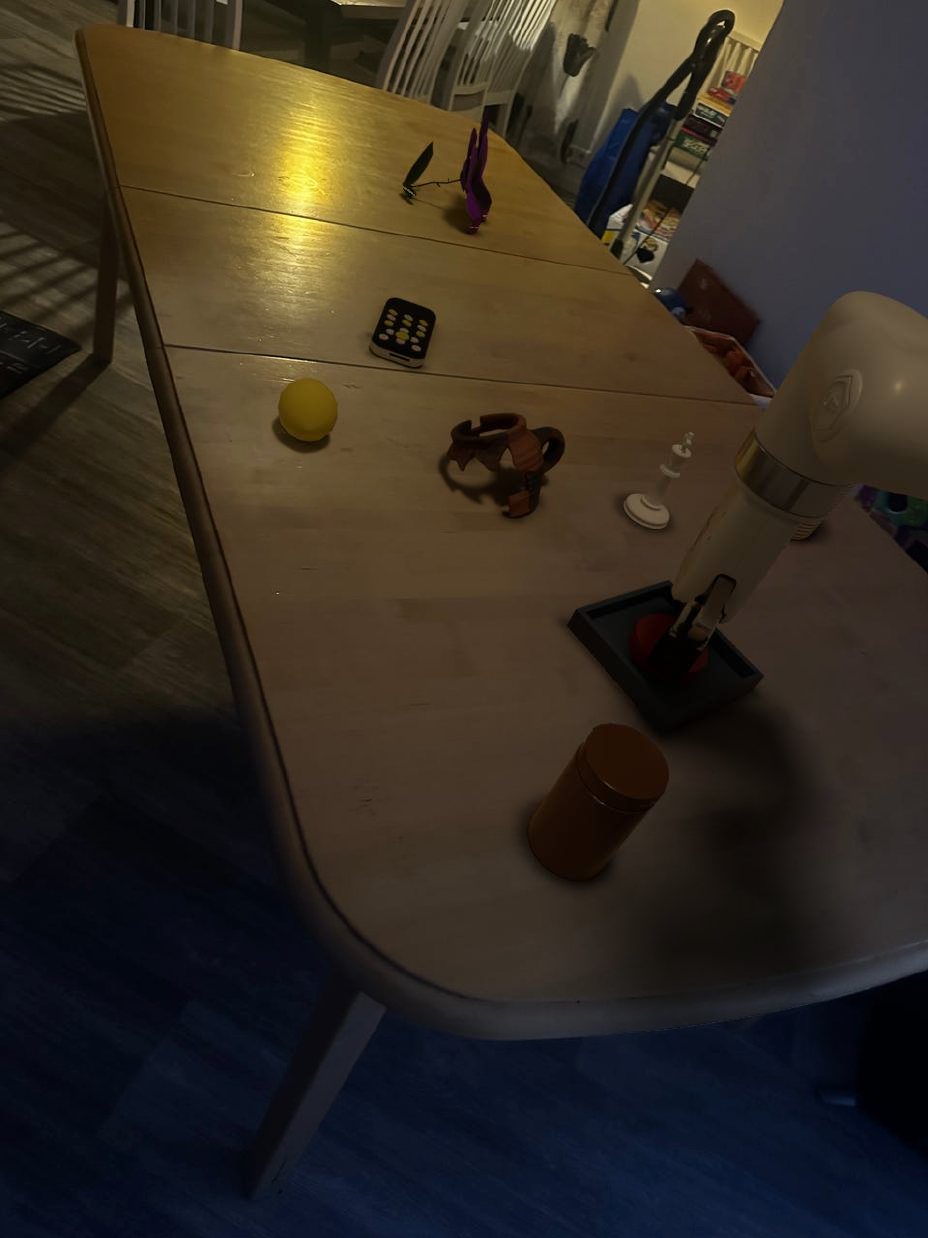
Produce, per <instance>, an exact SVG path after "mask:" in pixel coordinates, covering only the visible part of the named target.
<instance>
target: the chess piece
mask: <svg viewBox="0 0 928 1238" xmlns="http://www.w3.org/2000/svg"><path fill="white" fill-rule="evenodd" d="M694 436H695V434H694V432H691V431H689V432H688V433H685V434H684V436H683V442H682V444H673V445H672V446H671V449H670V455H669V459H668V462H662V463H661V465H660V466H659V468H660V471H661V472H662V474H661V475H660V477H659V478H658V480H657V481H656V482H655V483H654V485H653V486H652V488H650V490H649V491H648V492H647V493H644V494H643V493H632V494H629V496H627V498H626V499H625V500H624V502H623V510H624V512H625V513H626V515H627V516H628V517H629V518H630V519H631V520H632V521H634V522H635V523H637V524H638V525H640V526H641V527H644V528H647V529H652V530H661V529H664V528H665V527H667V525H668V522H669V520H670V513H669V511H668V509H667V507H666V505H664V504H663V499H664V497H665V494H666V491H667V489H668V487H669V484H670V482H671V481H672V479H678V478H680V476H681V470H680V469H679V467H681V466H682V465H683V464H684V463H685V462H686V461H688V460H689V459H690V458H691V456H692V452H691V451H690V447H691V446H692V440H693V438H694Z"/></svg>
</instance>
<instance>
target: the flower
mask: <svg viewBox="0 0 928 1238" xmlns="http://www.w3.org/2000/svg"><path fill="white" fill-rule="evenodd" d="M489 124H490V110H489V108H485V111H484V114H483V117H482V121H481V124H480V127H479V132H477V128H476V127H473V128H472V129H471V133H470V137H469V141H468V147H467V151H466V159H465V160H464V161H463V164H462V170H461V171H460V174H459V178H458V179H455V180H450V178H449V177H448V178H447V181H429V182H426V183H422V184H415V183H416V182H418V180H420V178H421V177H422V175H423V173H425V171H426V170H427V169H428V167H429V165H430V162H431V161H432V159H433V156H434V140H432V141H431V142H430V143H429V144H428V145H427V147H426V148H424V149H423V151H422V152H421V154H420V155H419V156H418V158H417V159H416V160H415V162H414V163H413V164H412V165H411V167H410V169H409V171H408V173H407V174H406V176H405V179H404V181H403V182H402V190H403V191H404V193H405V194H406V195H407V196H408V197H409V198H411V199H412V198H413V197H416V196H417V192H416V191H415V190H414V188H420V187H424V186H427V185H431V184H432V185H433V184H434V185H435V184H436V185H437V187H438V188H441V185H448V184H453V183H457V182H459V183H460V186H461V187H460V188H461V190H462V193H465V195H466V198H465V201H466V209H467V213H468V215H469V216H470V217H471V219H472V222H471V223H470V225H469V230H468V231H469V232H468V233H469V234H477V233H478V230H479V228H480V227H481V224H482V222H485V221H486V219H487V217H488V215H489V213H490V210H491V207H492V204H493V200H492V196H491V193H490V191H489V190H488V188H487V186H486V185H485V181H484V179H483V176H484V172H485V168H486V165H487V161H488V153H489V137H488V131H489ZM477 142H478V143H477ZM411 184H412V185H411ZM414 184H415V185H414ZM440 184H441V185H440ZM403 186H404V187H406V188H407V189H409V190H410V191H411V192H413V194H415V196H413V195H412V194H411V193H409V192H408V191H407V190H405V189H404V188H403ZM483 215H487V216H486V217H483ZM470 227H474V228H470ZM475 227H478V228H475Z"/></svg>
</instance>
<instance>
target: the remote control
mask: <svg viewBox="0 0 928 1238" xmlns="http://www.w3.org/2000/svg"><path fill="white" fill-rule="evenodd" d="M436 321H437V316H436V312H434V311H433V310H432V309H430V308H428V307H426V306H423V305H420V304H418V303H416V302H412V301H409V300H406V299H403V298H401V297H390V298H388V299H387V300H386V301H385V304H384V306H383V308H382V311H381V314H380V316H379V319H378V321H377V323H376V326H375V329H374V331H373V334H372V336H371V339H370V342H369V343H370V344H369V345H370V350H371V351H372V353H374V355H376V356H379V357H381V358H384V359H387V360H390V361H393V362H395V363H398V364H402V365H405V366H408V367H412V368H417V367H421V366H422V365H423V364H424V363H425V359H426V356H427V353H428V350H429V346H430V342H431V339H432V336H433V333H434V328H435V325H436Z"/></svg>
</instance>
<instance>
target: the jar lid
mask: <svg viewBox="0 0 928 1238" xmlns="http://www.w3.org/2000/svg"><path fill="white" fill-rule="evenodd" d="M675 621H676V619H675V618H673V617H670V616H667V615H662V614H650V615H647V616H644V617H643V618H641V619H640V620H639V622H638V623H637V625H636V626H635V628H634V630H633V631H632V633H631V634H630V637H629V648H630V651H631V654H632V655H633V657H634V659H635V660H636V661H637V663H638V664H639V665H640V666H641V667H642V668H643V669H644V670H645V671H647V672H648V673H649V674H651V675H653V676H654V677H656V678H658V679H660V680H662V681H665V682H668V683H673V684H686V683H689V682H691V681H693V680H694V679H695V678H696V677H697V676H698V675H699V673H700V672H701V671H702V669H703V668H704V667H705V665H706V664H707V661H708V651H707V648H706V646H705V649H704V651H703V652H702V654H701V655H700V656H699V658H698V659H697V660H696V662H695V663H694V664H693V666H692V667H691V669H690V670H689V671H688V673H687V674H686V675H685V677H684V678H683V679H682V681H680V682H677V681H674V680H673V679H671V678H669V677H667V676H665V675H664V674H662V673H660V672H658V671H656V670H655V669H653V668H651V667H649V666H648V665H646V663H645V661H646V658H647V656H648V654H649V653H650V652H651V650H652V649H653V647H654V646H655V644H656V643H657V641H658V640H659V638H660V637H661V635H662V634H663V632H664V631H665V629H666V628H667V626H670V627H672V626H673V624H674V622H675ZM684 624H685V623H684Z"/></svg>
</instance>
